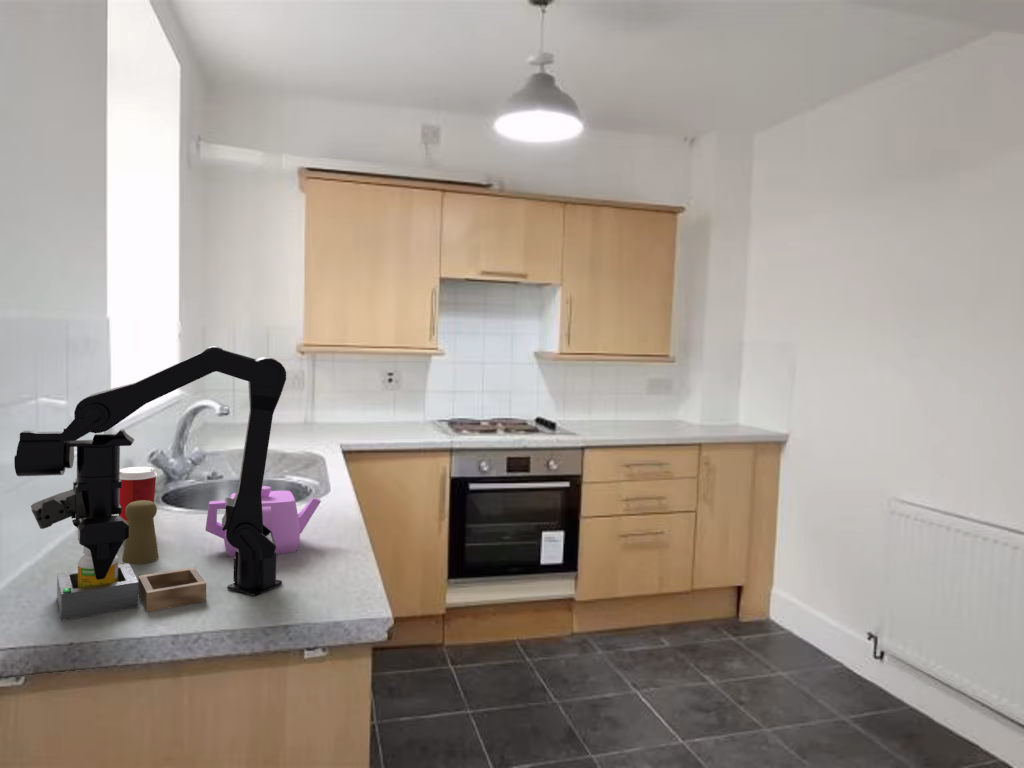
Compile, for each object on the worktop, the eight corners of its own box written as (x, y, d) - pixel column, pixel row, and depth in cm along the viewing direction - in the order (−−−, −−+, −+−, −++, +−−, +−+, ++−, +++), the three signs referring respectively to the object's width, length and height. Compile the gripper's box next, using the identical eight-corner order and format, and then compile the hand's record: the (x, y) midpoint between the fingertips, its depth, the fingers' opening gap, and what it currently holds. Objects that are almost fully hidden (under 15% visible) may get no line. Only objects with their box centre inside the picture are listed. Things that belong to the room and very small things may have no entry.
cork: (117, 557, 126) (118, 500, 125) (152, 551, 130) (153, 496, 129) (127, 566, 121) (128, 507, 121) (163, 560, 126) (164, 502, 125)
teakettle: (197, 551, 132) (198, 490, 131) (257, 530, 148) (258, 475, 147) (267, 565, 126) (269, 501, 125) (322, 541, 142) (324, 484, 141)
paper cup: (159, 529, 144) (160, 465, 143) (152, 540, 137) (153, 473, 136) (118, 531, 141) (119, 466, 140) (109, 542, 134) (110, 473, 133)
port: (128, 586, 112) (129, 560, 112) (138, 606, 104) (138, 579, 104) (57, 597, 106) (57, 570, 106) (61, 620, 98) (61, 591, 98)
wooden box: (194, 584, 115) (194, 567, 115) (205, 601, 108) (206, 583, 108) (138, 593, 110) (138, 575, 109) (146, 611, 103) (147, 592, 103)
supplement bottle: (74, 611, 102) (74, 548, 101) (81, 598, 107) (81, 538, 106) (114, 607, 104) (115, 546, 103) (119, 594, 109) (120, 536, 108)
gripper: (33, 466, 107) (33, 562, 108) (37, 491, 92) (37, 602, 93) (113, 461, 113) (112, 551, 114) (129, 484, 99) (128, 587, 100)
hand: (97, 571), depth 105 cm, fingers open, 7 cm apart
